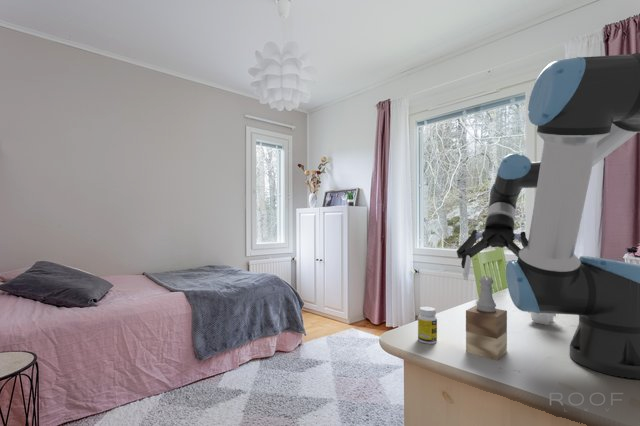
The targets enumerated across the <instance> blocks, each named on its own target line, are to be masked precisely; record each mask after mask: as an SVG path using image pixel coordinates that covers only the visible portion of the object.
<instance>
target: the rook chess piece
mask: <svg viewBox="0 0 640 426" xmlns="http://www.w3.org/2000/svg"><path fill="white" fill-rule="evenodd" d="M478 282H479V283H480V286H479V288H480V295H479V298H478V300H477V301H476V305H478V306H477V307H476V308H477V310H479V311H481V312H487V313H493V312H495V311H496V309H497V308H496V307H497V304H496V302H495V300H494V297H493V284H494V280H493V277H492V276H490V277H489V276H481V275H480V279H478Z"/></svg>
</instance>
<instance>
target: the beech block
mask: <svg viewBox="0 0 640 426" xmlns="http://www.w3.org/2000/svg"><path fill="white" fill-rule="evenodd" d="M507 351H508V331H507V332H506V333H504V334H503V335H502V336H500V337H499V338H498V339H495V338H491V337H487V336H483V335H479V334H475V333H471V332H466V331H465V352H467V353H470V354H473V355H476V356H479V357H483V358H487V359H490V360H494V361H499V360H500V359H501V358H502V357H503V356H504V355H505V354H506V353H508V352H507Z"/></svg>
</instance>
